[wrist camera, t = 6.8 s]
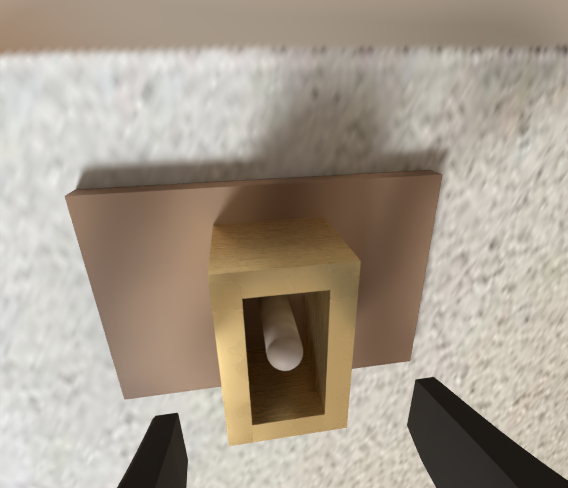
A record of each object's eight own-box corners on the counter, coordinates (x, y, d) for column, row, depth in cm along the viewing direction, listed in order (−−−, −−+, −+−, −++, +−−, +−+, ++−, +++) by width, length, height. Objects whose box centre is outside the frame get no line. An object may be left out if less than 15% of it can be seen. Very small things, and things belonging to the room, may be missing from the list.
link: (213, 224, 15) (207, 275, 10) (325, 216, 15) (361, 261, 11) (228, 365, 18) (229, 446, 14) (320, 354, 18) (346, 427, 14)
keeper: (430, 170, 16) (525, 204, 11) (402, 349, 21) (460, 433, 15) (75, 189, 14) (-13, 244, 9) (129, 384, 19) (92, 495, 13)
